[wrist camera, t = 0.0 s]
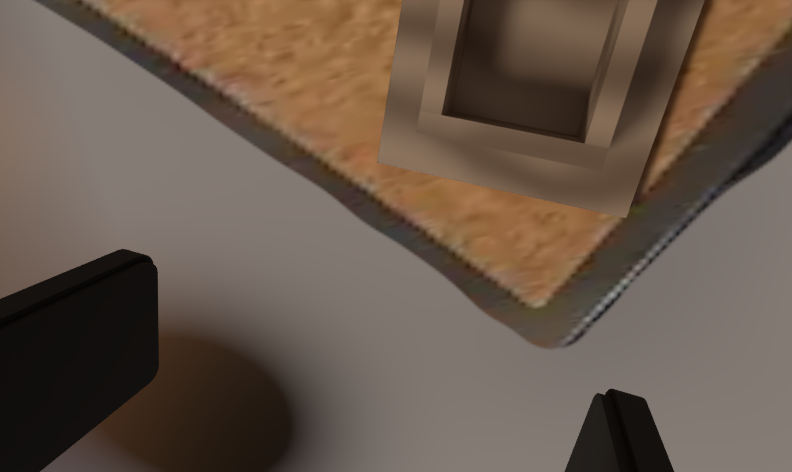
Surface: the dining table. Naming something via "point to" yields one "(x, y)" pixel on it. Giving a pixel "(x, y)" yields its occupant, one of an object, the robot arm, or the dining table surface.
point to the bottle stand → (535, 93)
